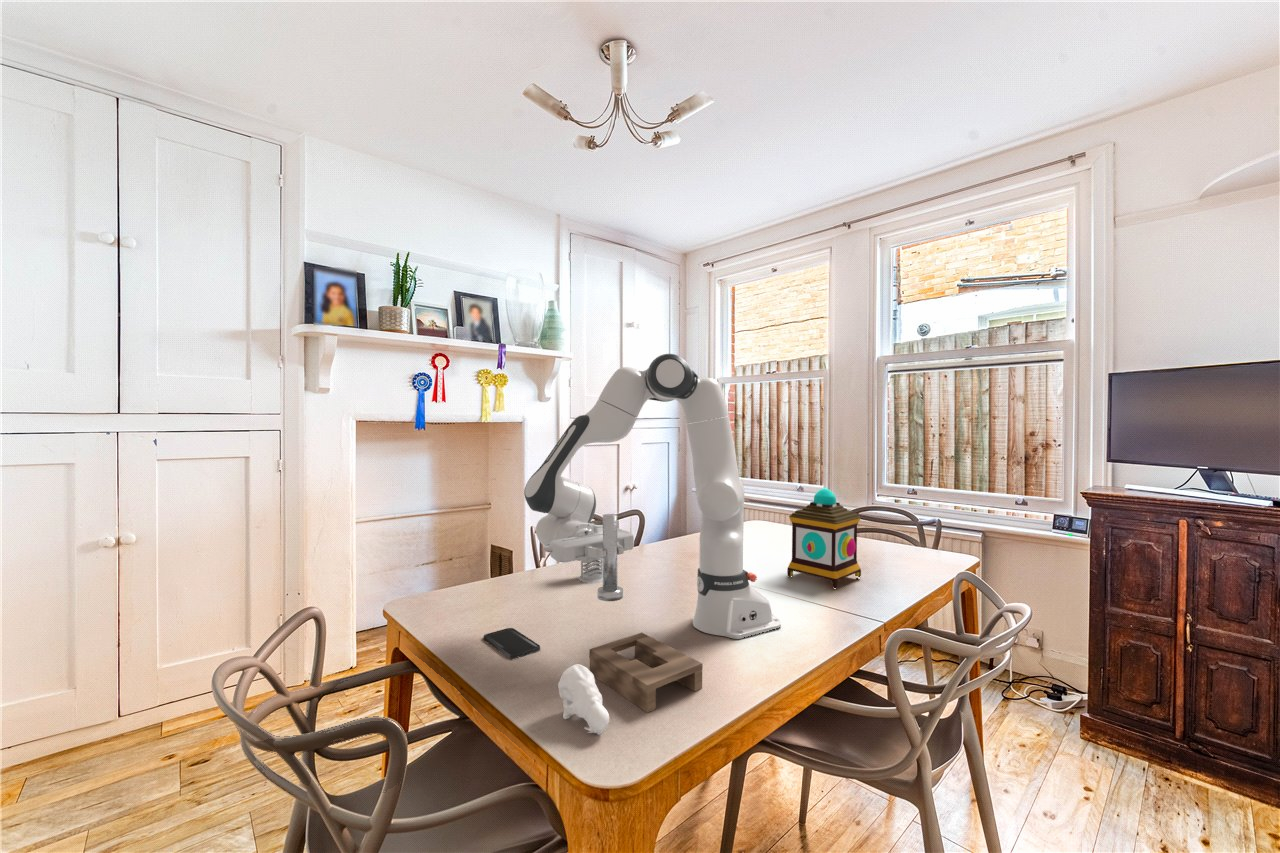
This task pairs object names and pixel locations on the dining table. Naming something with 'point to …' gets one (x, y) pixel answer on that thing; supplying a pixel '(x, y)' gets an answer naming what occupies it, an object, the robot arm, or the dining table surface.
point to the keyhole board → (643, 668)
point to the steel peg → (610, 561)
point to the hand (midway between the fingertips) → (612, 552)
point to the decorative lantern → (824, 539)
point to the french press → (592, 570)
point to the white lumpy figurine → (583, 698)
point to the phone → (511, 643)
